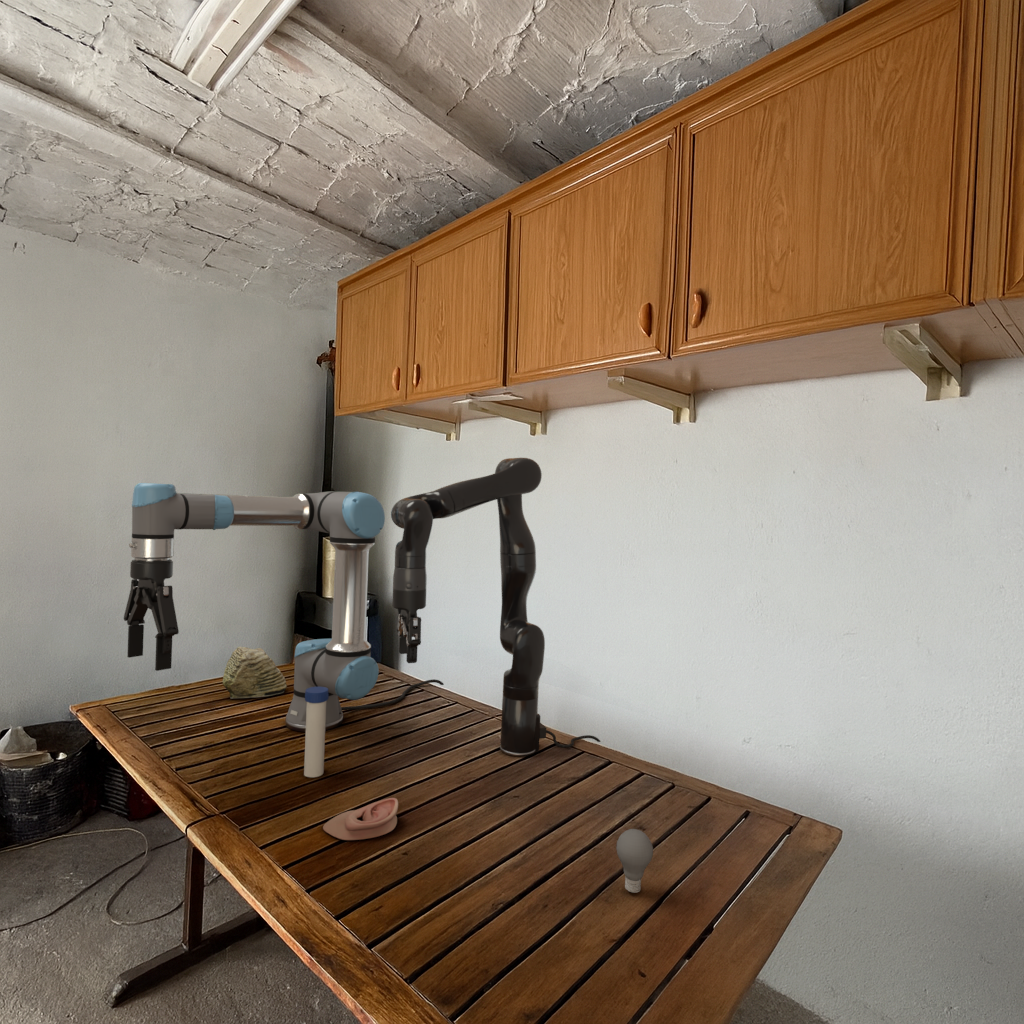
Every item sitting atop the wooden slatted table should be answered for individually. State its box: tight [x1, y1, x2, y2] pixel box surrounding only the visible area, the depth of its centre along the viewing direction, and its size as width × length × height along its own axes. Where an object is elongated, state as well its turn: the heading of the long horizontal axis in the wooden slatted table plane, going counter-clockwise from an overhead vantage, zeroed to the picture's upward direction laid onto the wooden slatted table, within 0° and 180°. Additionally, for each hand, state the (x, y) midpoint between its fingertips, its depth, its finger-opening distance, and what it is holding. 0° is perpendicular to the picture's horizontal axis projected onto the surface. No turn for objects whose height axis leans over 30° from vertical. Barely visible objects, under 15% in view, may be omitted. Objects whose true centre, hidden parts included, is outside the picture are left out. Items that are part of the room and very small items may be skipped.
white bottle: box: [303, 701, 326, 778], centre depth 145 cm, size 4×4×19 cm
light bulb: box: [615, 828, 654, 894], centre depth 106 cm, size 6×6×10 cm
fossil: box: [222, 646, 288, 699], centre depth 198 cm, size 9×18×15 cm, turn 132°
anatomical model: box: [322, 797, 399, 841], centre depth 122 cm, size 13×4×12 cm
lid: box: [305, 687, 329, 703], centre depth 144 cm, size 5×5×2 cm
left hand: (148, 662), depth 129 cm, fingers open, 13 cm apart
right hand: (407, 657), depth 144 cm, fingers open, 8 cm apart
